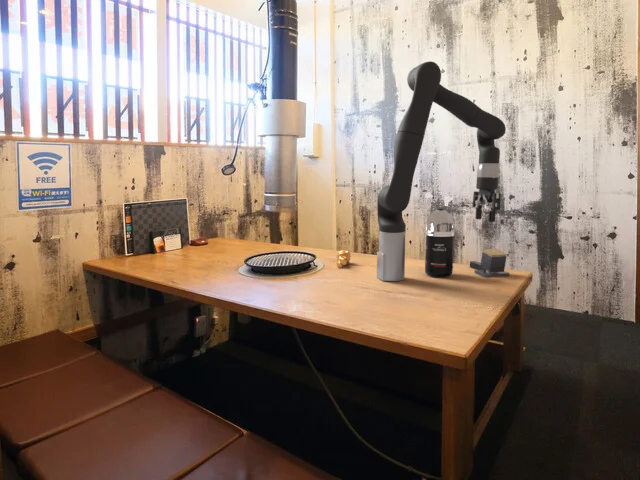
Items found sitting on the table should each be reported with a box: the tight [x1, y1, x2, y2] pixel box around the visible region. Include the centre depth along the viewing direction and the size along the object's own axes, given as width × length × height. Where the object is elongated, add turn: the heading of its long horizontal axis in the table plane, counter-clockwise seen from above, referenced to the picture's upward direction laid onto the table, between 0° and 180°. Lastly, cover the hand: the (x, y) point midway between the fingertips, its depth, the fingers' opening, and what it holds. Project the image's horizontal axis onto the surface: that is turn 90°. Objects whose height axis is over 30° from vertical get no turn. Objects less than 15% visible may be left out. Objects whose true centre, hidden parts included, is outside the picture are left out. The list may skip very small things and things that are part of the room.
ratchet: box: [469, 260, 510, 278], centre depth 170 cm, size 10×16×6 cm, turn 12°
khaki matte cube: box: [480, 248, 508, 273], centre depth 165 cm, size 6×6×7 cm
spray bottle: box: [424, 207, 456, 278], centre depth 164 cm, size 10×10×25 cm
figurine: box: [335, 249, 352, 269], centre depth 183 cm, size 8×6×12 cm
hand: (484, 220), depth 165 cm, fingers open, 8 cm apart
